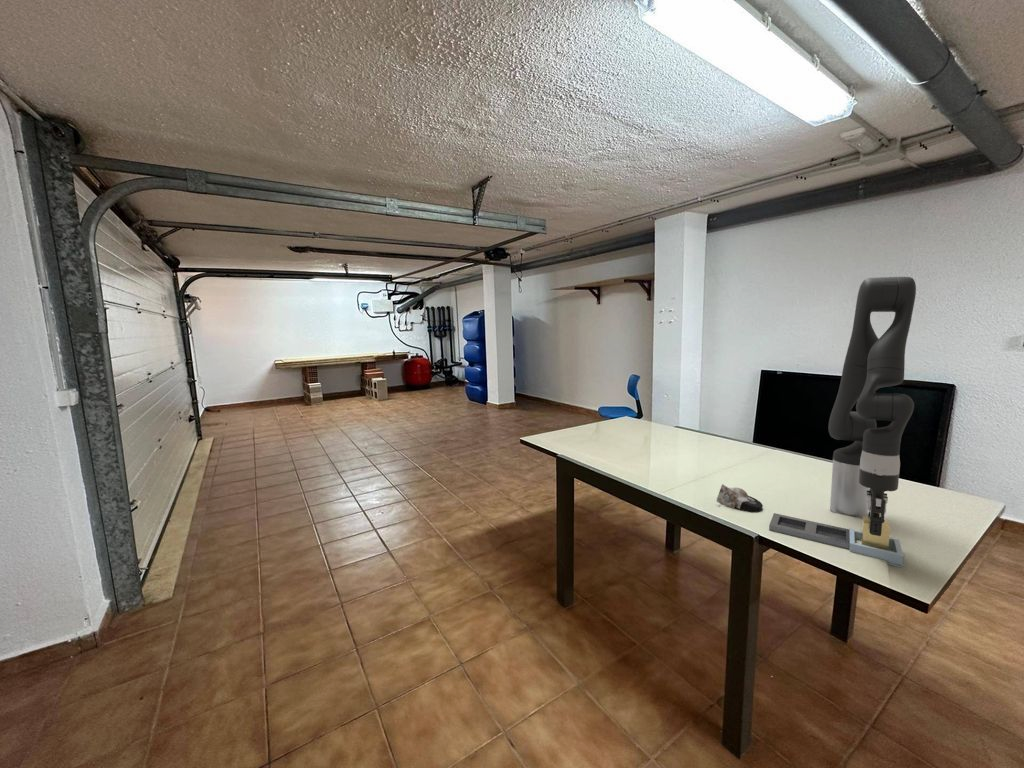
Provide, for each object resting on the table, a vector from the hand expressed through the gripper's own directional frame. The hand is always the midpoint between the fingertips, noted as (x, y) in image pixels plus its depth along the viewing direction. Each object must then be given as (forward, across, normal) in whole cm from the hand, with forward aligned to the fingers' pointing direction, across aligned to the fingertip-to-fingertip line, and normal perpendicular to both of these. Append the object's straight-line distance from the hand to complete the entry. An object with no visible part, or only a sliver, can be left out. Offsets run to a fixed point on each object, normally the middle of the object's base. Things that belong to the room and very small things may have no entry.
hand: (874, 528), depth 104 cm
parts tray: (+7, 0, 0) cm, 7 cm away
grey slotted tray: (+7, -1, -14) cm, 15 cm away
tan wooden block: (+6, 0, 0) cm, 6 cm away
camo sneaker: (+7, -10, -32) cm, 35 cm away
